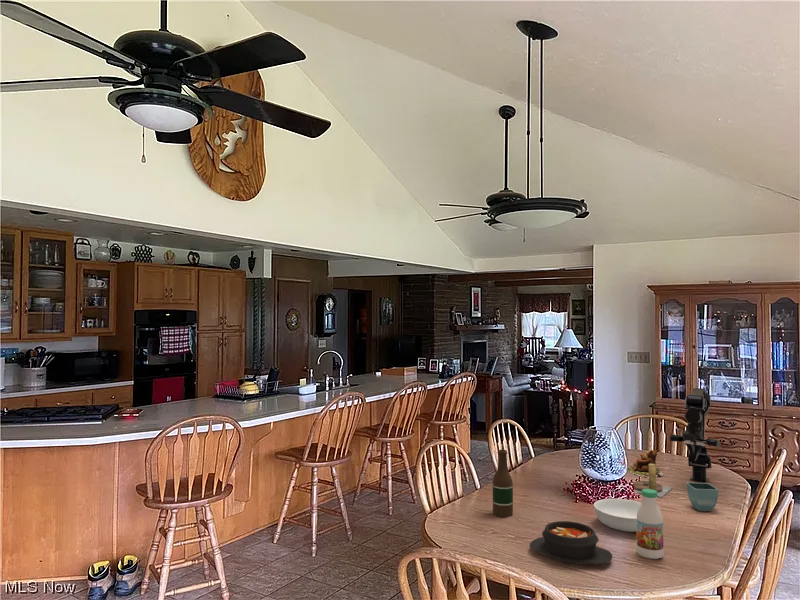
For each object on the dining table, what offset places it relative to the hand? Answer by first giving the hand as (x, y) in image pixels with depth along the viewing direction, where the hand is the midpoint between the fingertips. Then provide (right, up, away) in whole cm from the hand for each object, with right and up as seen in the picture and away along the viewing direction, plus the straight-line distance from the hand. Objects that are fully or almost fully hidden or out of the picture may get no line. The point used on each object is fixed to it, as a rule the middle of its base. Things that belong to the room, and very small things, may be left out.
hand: (694, 461), depth 247 cm
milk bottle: (-47, -11, -65) cm, 82 cm away
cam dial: (-20, -13, +1) cm, 23 cm away
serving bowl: (-46, -12, -42) cm, 63 cm away
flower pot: (-9, -12, -23) cm, 28 cm away
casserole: (-73, -11, -67) cm, 99 cm away
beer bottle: (-87, -12, -29) cm, 92 cm away
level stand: (-20, -13, +1) cm, 23 cm away
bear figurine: (-9, -14, +27) cm, 32 cm away
